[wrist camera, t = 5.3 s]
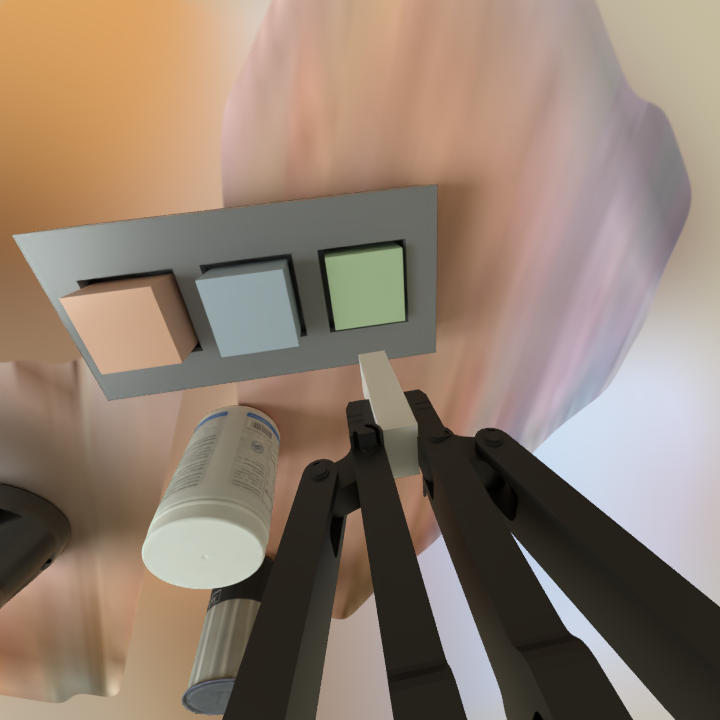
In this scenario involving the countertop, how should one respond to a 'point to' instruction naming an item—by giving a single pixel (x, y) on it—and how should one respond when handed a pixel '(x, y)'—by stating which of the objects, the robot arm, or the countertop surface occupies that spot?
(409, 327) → the console
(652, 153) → the countertop surface
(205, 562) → the supplement tub
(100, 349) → the terracotta button
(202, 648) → the milk frother
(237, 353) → the slate button
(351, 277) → the green button
